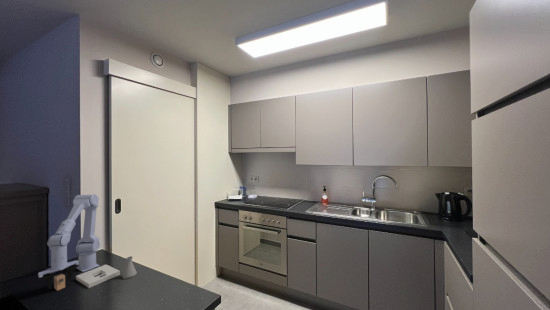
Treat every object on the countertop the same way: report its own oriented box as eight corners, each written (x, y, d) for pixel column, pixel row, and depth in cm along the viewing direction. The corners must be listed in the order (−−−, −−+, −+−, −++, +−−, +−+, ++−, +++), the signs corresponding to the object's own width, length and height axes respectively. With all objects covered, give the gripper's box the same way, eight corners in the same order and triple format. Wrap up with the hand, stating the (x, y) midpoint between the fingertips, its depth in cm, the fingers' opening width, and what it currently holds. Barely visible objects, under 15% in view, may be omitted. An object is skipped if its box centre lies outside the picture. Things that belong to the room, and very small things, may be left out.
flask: (124, 280, 115) (124, 262, 115) (119, 276, 119) (119, 258, 119) (139, 274, 120) (139, 256, 120) (134, 270, 125) (133, 253, 125)
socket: (75, 279, 116) (75, 275, 116) (106, 267, 129) (106, 263, 129) (88, 288, 109) (88, 283, 109) (119, 274, 121) (119, 270, 121)
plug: (54, 288, 109) (54, 276, 109) (62, 285, 112) (62, 273, 112) (57, 291, 107) (57, 279, 107) (65, 287, 109) (65, 276, 109)
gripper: (41, 266, 101) (41, 295, 101) (80, 253, 114) (81, 279, 114) (36, 262, 105) (37, 290, 105) (75, 251, 117) (75, 275, 117)
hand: (59, 284), depth 109 cm, fingers open, 6 cm apart
